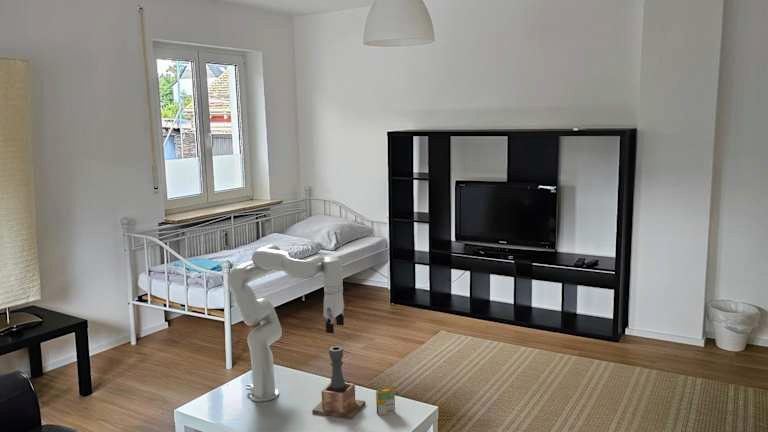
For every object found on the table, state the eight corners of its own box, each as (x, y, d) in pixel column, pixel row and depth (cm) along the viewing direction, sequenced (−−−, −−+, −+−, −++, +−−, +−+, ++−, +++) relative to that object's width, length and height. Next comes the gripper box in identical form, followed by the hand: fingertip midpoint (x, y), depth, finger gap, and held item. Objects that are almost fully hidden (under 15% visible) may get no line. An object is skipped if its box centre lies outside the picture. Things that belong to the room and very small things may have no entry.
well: (312, 413, 262) (311, 391, 260) (327, 398, 275) (326, 378, 273) (352, 419, 255) (351, 397, 254) (365, 404, 268) (364, 383, 267)
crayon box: (393, 410, 263) (392, 383, 261) (395, 413, 260) (394, 386, 258) (376, 412, 261) (375, 386, 259) (378, 416, 258) (377, 389, 256)
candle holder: (343, 409, 261) (341, 351, 257) (329, 408, 263) (326, 351, 258) (347, 402, 267) (345, 346, 263) (333, 401, 268) (331, 345, 264)
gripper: (334, 282, 266) (335, 321, 269) (315, 293, 250) (317, 335, 253) (350, 283, 263) (351, 322, 266) (332, 295, 247) (334, 337, 250)
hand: (335, 328), depth 259 cm, fingers open, 9 cm apart
